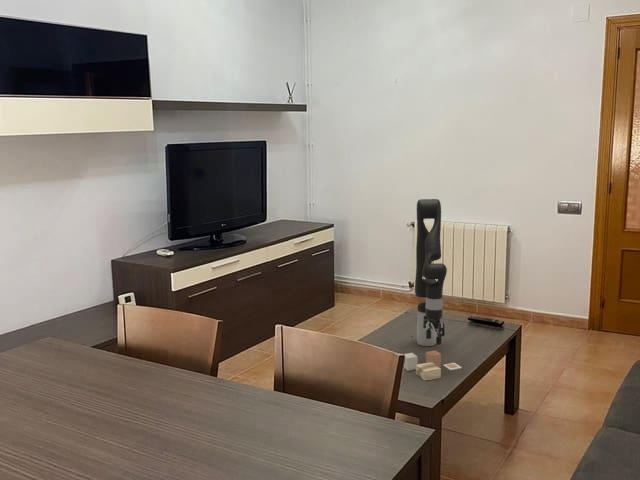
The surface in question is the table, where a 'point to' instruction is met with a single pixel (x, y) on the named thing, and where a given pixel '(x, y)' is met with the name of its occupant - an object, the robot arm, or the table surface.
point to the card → (452, 366)
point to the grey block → (410, 361)
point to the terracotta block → (433, 358)
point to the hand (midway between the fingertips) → (433, 341)
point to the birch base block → (428, 371)
